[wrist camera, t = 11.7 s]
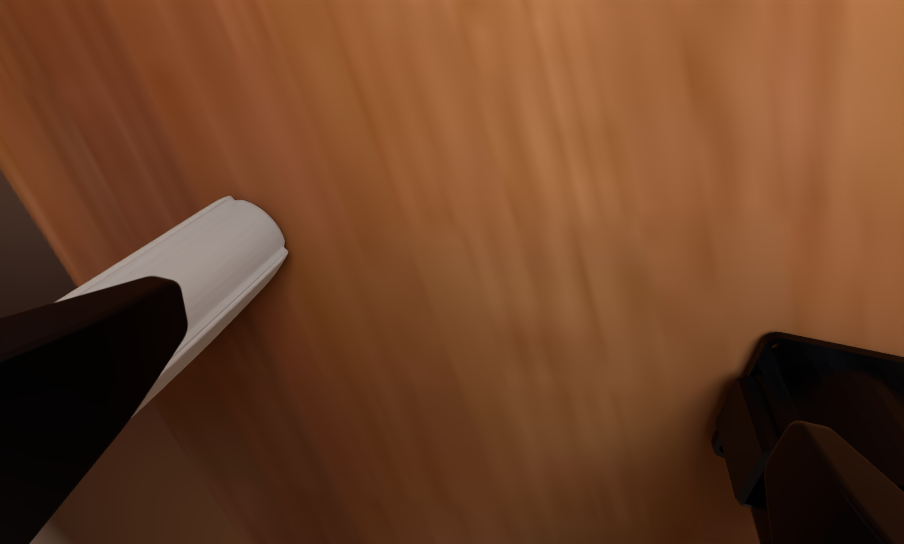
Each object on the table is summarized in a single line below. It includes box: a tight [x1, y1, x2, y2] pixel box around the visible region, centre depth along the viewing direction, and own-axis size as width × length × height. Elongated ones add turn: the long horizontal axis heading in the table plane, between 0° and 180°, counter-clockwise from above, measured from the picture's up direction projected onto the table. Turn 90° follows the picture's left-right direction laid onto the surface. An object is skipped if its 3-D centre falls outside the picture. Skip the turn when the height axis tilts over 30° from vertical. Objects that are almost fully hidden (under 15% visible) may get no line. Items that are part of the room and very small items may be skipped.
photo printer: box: [54, 196, 288, 418], centre depth 20 cm, size 10×4×12 cm, turn 133°
